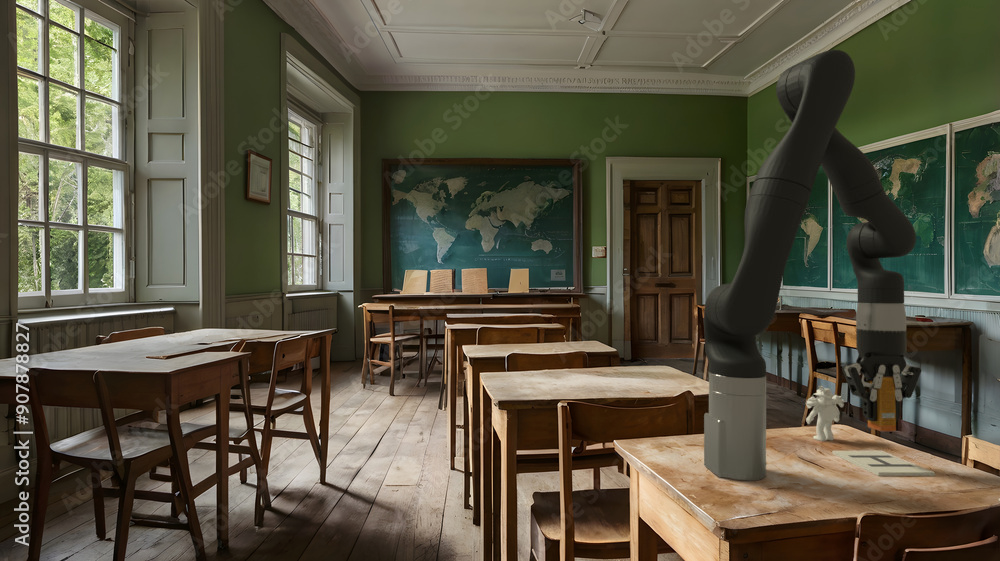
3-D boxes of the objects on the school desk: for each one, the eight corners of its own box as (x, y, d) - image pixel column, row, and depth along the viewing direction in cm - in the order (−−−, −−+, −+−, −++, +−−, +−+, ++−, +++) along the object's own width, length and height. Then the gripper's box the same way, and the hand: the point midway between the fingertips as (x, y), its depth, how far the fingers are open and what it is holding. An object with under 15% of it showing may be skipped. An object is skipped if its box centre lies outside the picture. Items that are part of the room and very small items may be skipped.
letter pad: (878, 475, 90) (878, 472, 90) (832, 453, 102) (832, 450, 102) (934, 475, 90) (934, 472, 90) (882, 453, 102) (882, 450, 102)
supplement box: (898, 431, 95) (896, 376, 95) (880, 432, 94) (879, 377, 95) (883, 426, 98) (881, 373, 98) (866, 427, 98) (864, 374, 98)
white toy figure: (815, 443, 109) (815, 386, 109) (800, 438, 113) (800, 382, 113) (848, 440, 112) (848, 384, 112) (832, 435, 115) (832, 381, 116)
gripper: (857, 329, 93) (858, 426, 92) (935, 329, 93) (936, 425, 93) (830, 326, 100) (830, 415, 100) (901, 326, 100) (902, 415, 100)
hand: (881, 420), depth 96 cm, fingers closed on supplement box, 3 cm apart
